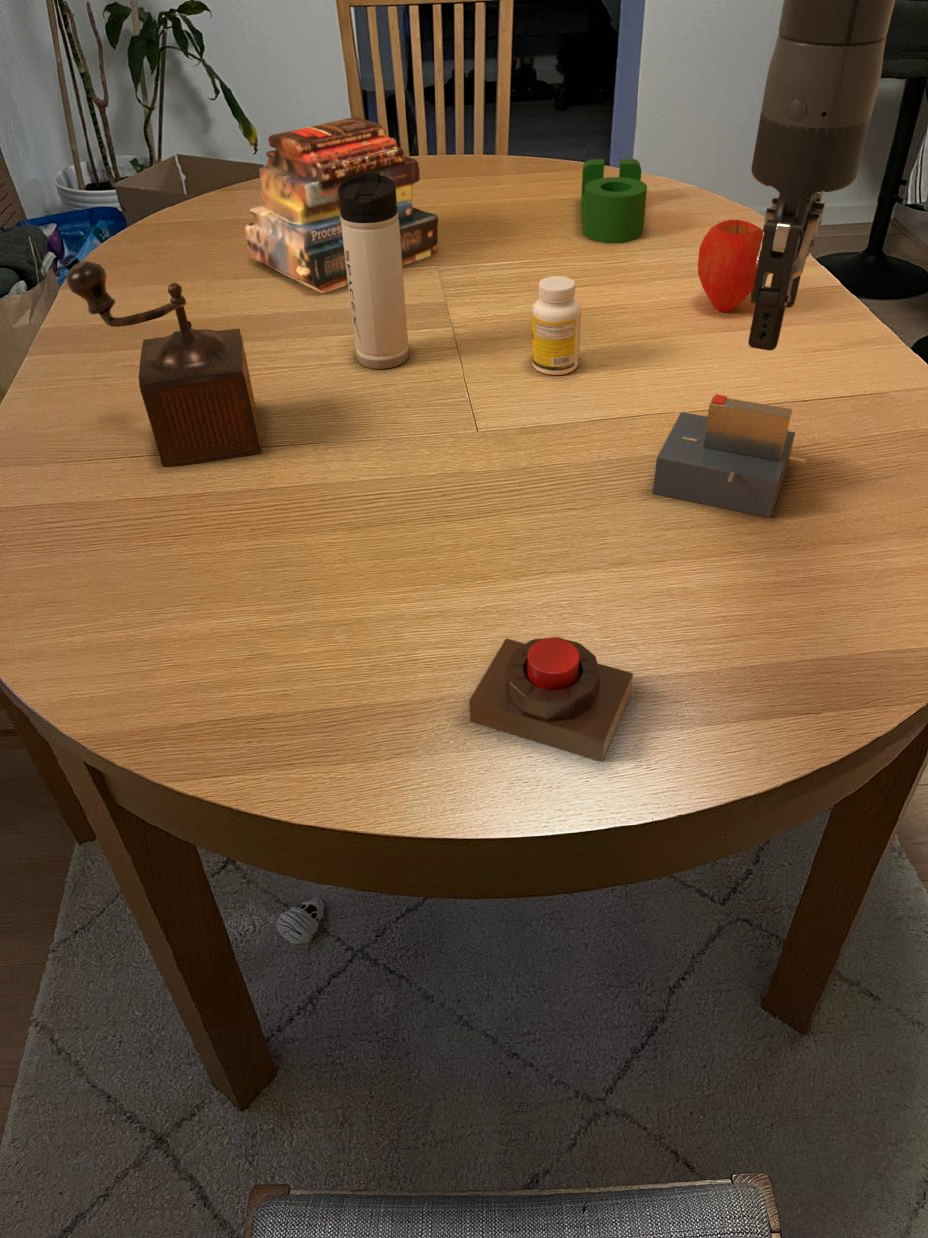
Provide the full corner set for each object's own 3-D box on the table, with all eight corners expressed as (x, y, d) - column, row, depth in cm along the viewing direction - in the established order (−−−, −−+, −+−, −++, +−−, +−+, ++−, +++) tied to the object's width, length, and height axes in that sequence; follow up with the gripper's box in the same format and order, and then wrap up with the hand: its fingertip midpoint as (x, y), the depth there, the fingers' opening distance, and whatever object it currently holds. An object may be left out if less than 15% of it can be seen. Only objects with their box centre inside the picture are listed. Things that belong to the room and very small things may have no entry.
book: (311, 300, 125) (290, 163, 113) (242, 264, 135) (217, 136, 124) (441, 253, 136) (434, 124, 124) (368, 224, 146) (356, 102, 134)
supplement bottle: (546, 351, 111) (548, 269, 105) (586, 361, 109) (591, 278, 102) (522, 369, 108) (523, 286, 101) (563, 380, 106) (567, 296, 99)
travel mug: (413, 345, 114) (400, 170, 100) (404, 370, 109) (390, 190, 95) (362, 344, 114) (343, 170, 101) (352, 369, 109) (330, 190, 96)
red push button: (585, 663, 66) (586, 645, 65) (568, 696, 64) (569, 679, 63) (537, 650, 68) (538, 632, 66) (519, 682, 65) (519, 665, 64)
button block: (630, 693, 69) (635, 655, 66) (602, 762, 64) (606, 723, 62) (505, 658, 72) (505, 620, 70) (469, 721, 68) (468, 682, 65)
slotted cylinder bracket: (644, 242, 136) (649, 196, 132) (583, 242, 137) (585, 196, 133) (637, 201, 149) (641, 158, 145) (581, 201, 150) (583, 159, 146)
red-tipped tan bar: (782, 452, 85) (793, 406, 82) (779, 461, 84) (790, 414, 81) (706, 438, 88) (713, 392, 84) (702, 446, 87) (709, 400, 83)
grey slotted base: (805, 467, 91) (814, 430, 88) (785, 531, 83) (794, 492, 80) (677, 443, 95) (682, 407, 92) (647, 502, 87) (652, 464, 84)
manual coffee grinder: (258, 403, 104) (225, 239, 92) (263, 454, 96) (228, 282, 84) (115, 422, 102) (63, 257, 90) (108, 476, 94) (50, 302, 82)
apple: (773, 314, 117) (791, 225, 109) (718, 328, 114) (732, 239, 107) (730, 290, 123) (744, 204, 115) (677, 303, 120) (688, 217, 113)
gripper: (860, 141, 60) (804, 371, 71) (882, 87, 70) (830, 298, 81) (743, 131, 62) (707, 355, 73) (779, 80, 72) (743, 285, 83)
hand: (771, 325), depth 77 cm, fingers open, 8 cm apart
